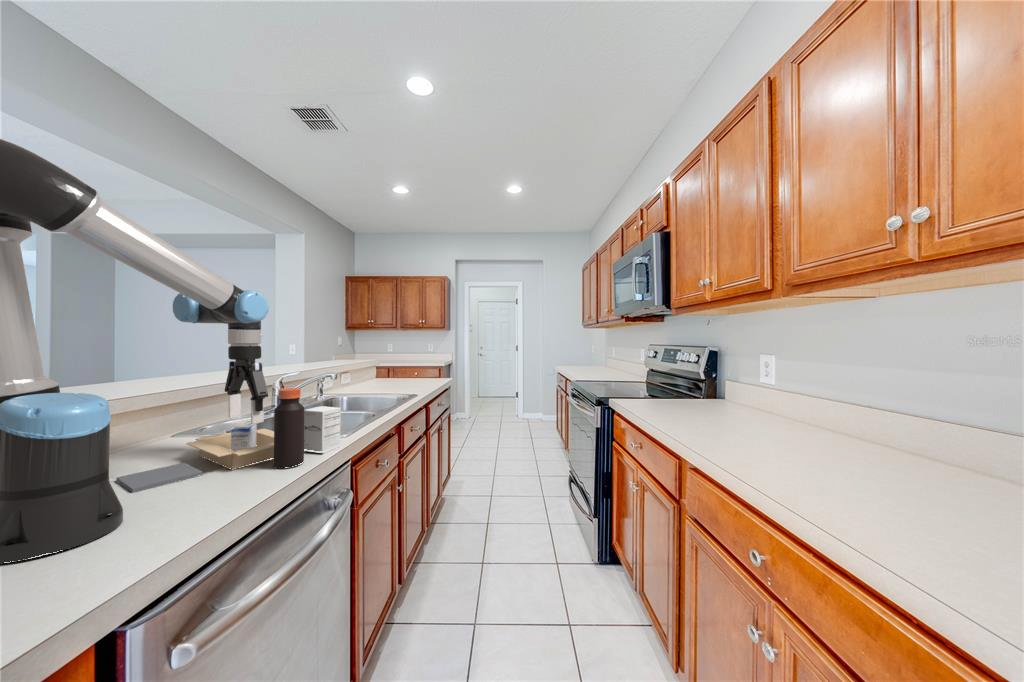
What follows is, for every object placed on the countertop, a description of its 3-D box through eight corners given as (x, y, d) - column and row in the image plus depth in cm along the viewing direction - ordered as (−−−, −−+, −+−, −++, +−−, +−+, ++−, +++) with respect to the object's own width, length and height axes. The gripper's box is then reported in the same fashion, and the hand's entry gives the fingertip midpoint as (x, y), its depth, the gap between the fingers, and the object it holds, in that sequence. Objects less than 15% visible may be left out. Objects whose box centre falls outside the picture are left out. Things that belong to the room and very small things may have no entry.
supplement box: (301, 452, 105) (302, 409, 105) (321, 445, 113) (322, 405, 113) (321, 455, 103) (322, 411, 103) (341, 447, 110) (341, 406, 110)
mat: (202, 475, 87) (202, 471, 87) (132, 492, 77) (132, 488, 77) (183, 465, 94) (183, 462, 94) (116, 480, 83) (116, 477, 83)
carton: (304, 454, 103) (304, 439, 103) (223, 476, 87) (223, 457, 87) (259, 440, 117) (259, 427, 117) (181, 457, 100) (181, 441, 100)
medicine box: (238, 453, 104) (238, 423, 104) (256, 451, 106) (256, 422, 106) (230, 461, 97) (230, 429, 97) (250, 459, 99) (250, 428, 99)
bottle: (309, 461, 98) (310, 388, 98) (291, 470, 91) (292, 391, 91) (286, 460, 99) (287, 387, 99) (267, 468, 92) (267, 390, 92)
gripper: (282, 345, 99) (282, 422, 99) (240, 344, 111) (240, 412, 112) (251, 346, 92) (251, 428, 93) (210, 344, 105) (210, 416, 105)
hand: (245, 419), depth 102 cm, fingers open, 13 cm apart
